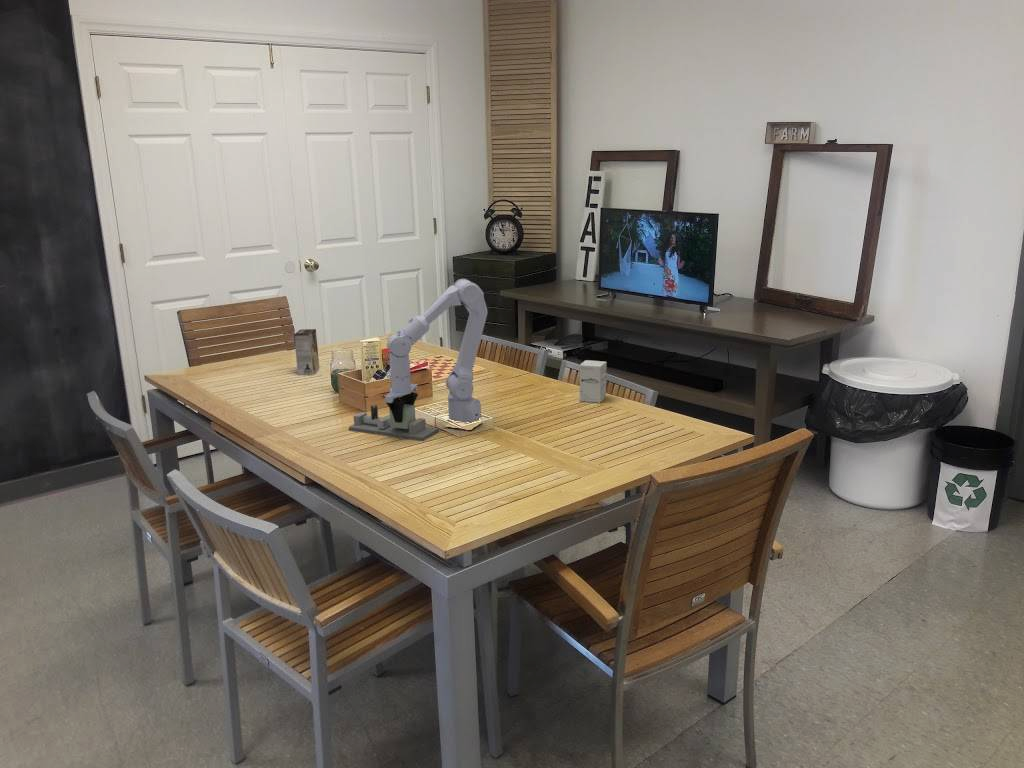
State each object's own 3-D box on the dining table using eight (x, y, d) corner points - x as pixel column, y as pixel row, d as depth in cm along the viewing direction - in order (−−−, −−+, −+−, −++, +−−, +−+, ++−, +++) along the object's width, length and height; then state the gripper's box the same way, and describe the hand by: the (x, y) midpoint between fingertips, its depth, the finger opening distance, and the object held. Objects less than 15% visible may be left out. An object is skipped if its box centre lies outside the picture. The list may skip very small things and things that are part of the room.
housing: (415, 424, 244) (414, 405, 242) (407, 429, 240) (406, 409, 238) (398, 422, 246) (397, 403, 244) (390, 426, 242) (389, 407, 241)
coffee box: (303, 369, 319) (299, 329, 315) (320, 369, 319) (316, 328, 315) (297, 375, 310) (293, 334, 306) (314, 375, 310) (310, 333, 306)
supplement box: (578, 401, 270) (578, 364, 266) (585, 395, 276) (585, 359, 273) (600, 403, 267) (600, 366, 263) (606, 397, 273) (606, 360, 270)
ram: (394, 423, 248) (393, 405, 246) (383, 429, 243) (382, 410, 241) (369, 419, 252) (368, 402, 250) (358, 425, 246) (357, 407, 245)
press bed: (438, 431, 243) (438, 418, 242) (422, 440, 236) (422, 427, 235) (366, 421, 254) (365, 409, 253) (349, 430, 246) (348, 417, 245)
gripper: (402, 368, 247) (405, 411, 250) (374, 380, 234) (378, 425, 238) (422, 370, 244) (424, 413, 247) (395, 382, 231) (398, 428, 235)
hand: (403, 419), depth 242 cm, fingers closed on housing, 4 cm apart
